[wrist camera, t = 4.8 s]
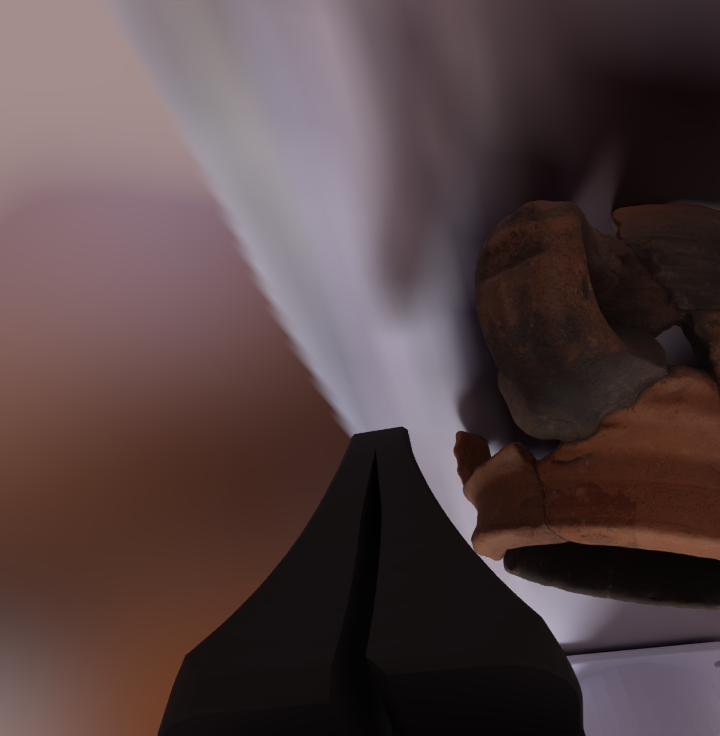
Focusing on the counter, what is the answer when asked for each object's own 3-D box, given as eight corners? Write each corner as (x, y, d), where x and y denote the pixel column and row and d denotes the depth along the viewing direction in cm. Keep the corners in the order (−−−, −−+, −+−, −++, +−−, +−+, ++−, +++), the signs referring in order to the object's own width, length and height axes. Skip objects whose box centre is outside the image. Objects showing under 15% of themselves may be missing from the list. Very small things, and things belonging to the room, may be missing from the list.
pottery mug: (848, 326, 16) (943, 639, 12) (544, 390, 22) (538, 606, 18) (715, -42, 9) (832, 404, 5) (332, 205, 15) (250, 485, 11)
